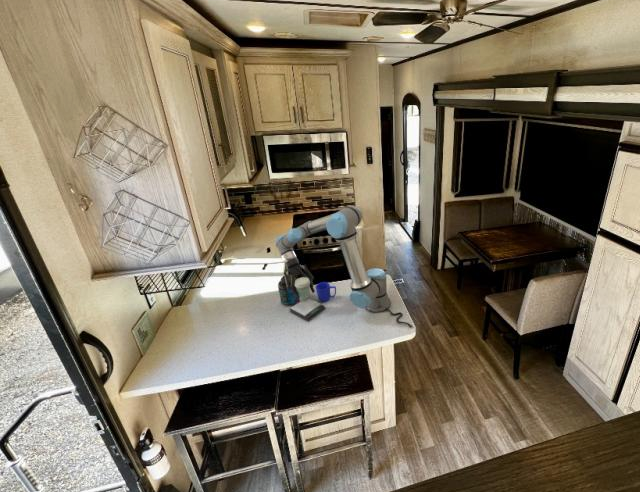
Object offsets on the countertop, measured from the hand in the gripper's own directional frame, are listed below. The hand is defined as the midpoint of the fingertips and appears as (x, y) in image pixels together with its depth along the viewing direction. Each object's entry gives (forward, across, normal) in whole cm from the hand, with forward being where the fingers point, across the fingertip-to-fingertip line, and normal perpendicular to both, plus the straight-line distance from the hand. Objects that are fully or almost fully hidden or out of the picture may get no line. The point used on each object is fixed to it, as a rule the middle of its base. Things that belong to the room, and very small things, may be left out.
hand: (306, 295), depth 186 cm
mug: (+6, -14, -11) cm, 19 cm away
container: (-4, +3, -21) cm, 22 cm away
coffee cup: (0, 0, -5) cm, 5 cm away
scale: (+7, 0, -10) cm, 12 cm away
